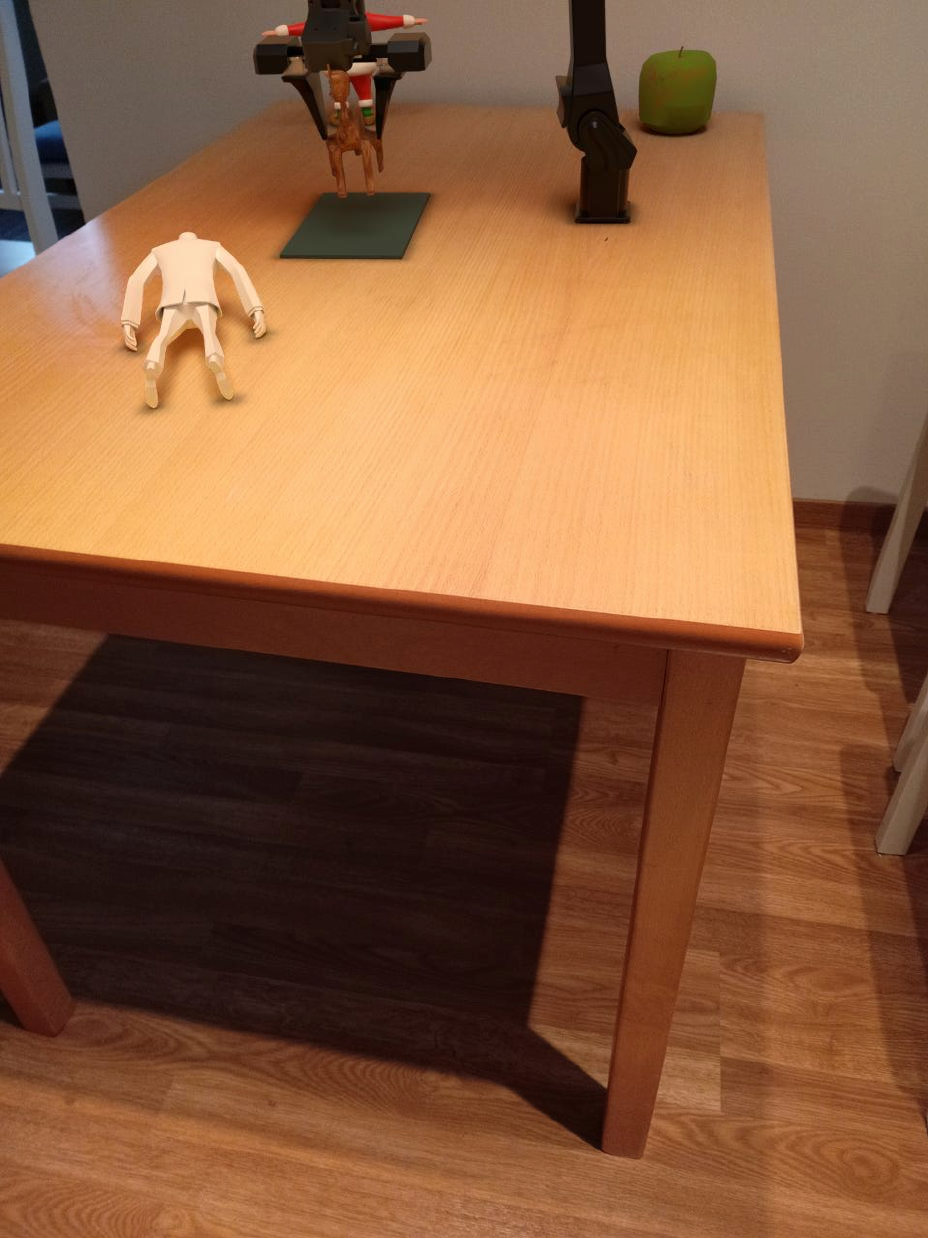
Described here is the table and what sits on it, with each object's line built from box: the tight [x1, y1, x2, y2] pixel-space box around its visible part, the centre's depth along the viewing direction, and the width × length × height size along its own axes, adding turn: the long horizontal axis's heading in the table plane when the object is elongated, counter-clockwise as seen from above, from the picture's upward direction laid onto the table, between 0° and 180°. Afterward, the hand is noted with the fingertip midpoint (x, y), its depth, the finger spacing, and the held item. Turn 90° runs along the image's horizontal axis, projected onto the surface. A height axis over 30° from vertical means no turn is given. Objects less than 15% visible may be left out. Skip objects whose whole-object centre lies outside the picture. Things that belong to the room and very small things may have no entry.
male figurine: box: [120, 231, 267, 409], centre depth 92 cm, size 14×6×25 cm
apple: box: [637, 45, 718, 135], centre depth 142 cm, size 11×11×11 cm
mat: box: [279, 192, 431, 260], centre depth 118 cm, size 22×14×1 cm, turn 173°
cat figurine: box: [325, 64, 384, 198], centre depth 110 cm, size 18×7×14 cm, turn 3°
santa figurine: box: [261, 11, 429, 128], centre depth 148 cm, size 25×6×19 cm, turn 103°
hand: (352, 138), depth 112 cm, fingers closed on cat figurine, 6 cm apart
